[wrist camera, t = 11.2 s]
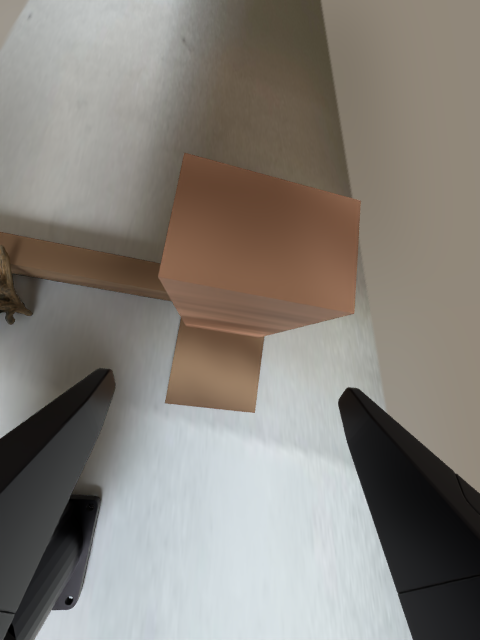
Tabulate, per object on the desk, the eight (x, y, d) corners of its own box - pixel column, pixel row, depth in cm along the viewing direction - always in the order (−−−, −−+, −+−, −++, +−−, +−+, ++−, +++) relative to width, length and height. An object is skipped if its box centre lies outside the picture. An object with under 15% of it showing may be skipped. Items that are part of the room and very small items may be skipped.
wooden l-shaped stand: (251, 409, 19) (358, 530, 6) (-80, 373, 15) (-1433, 478, 3) (266, 295, 20) (373, 204, 8) (-30, 240, 17) (-714, -93, 4)
